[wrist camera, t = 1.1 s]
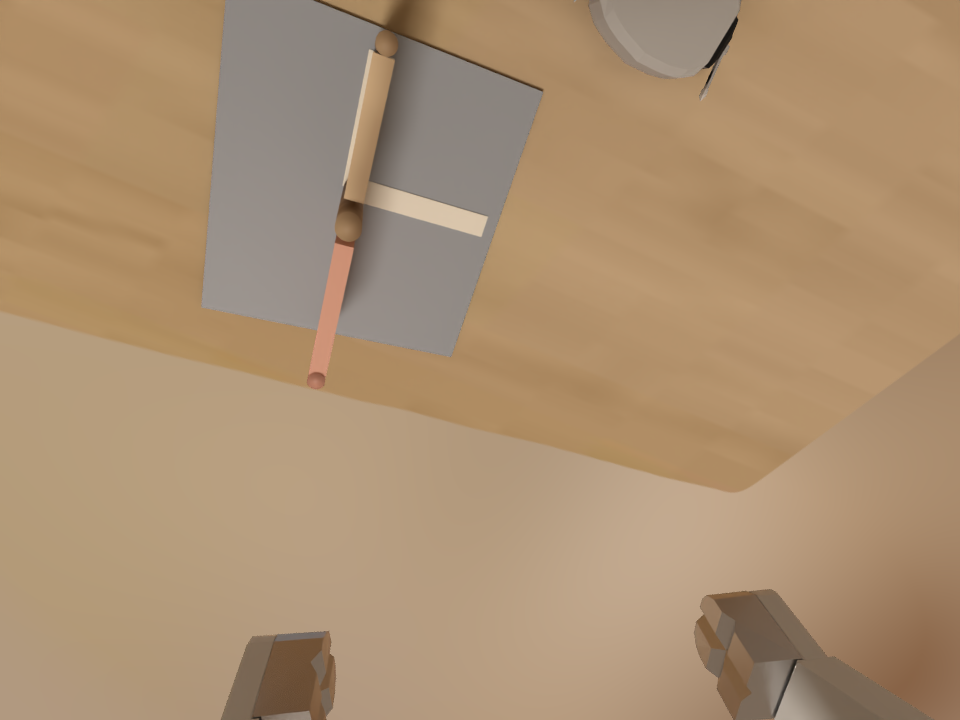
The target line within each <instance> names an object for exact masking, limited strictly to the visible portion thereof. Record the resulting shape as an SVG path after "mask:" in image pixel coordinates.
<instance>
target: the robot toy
mask: <svg viewBox="0 0 960 720" xmlns="http://www.w3.org/2000/svg"><path fill="white" fill-rule="evenodd" d="M575 1H576V0H574V2H575ZM740 4H741V0H589V9H590V12H591V16H592V19H593V22H594V24H595V26H596V28H597V30H598V31H599V33H600V34H601V36H602V37H603V39H604V40H605V42H606V43H607V44H608V45H609V46H610V47H611V48H612V49H613V51H614V52H615V53H616V54H617V55H618V56H619V57H620V58H621V59H622V61H623V62H624V63H626V64H628V65H630V66H632V67H634V68H636V69H638V70H640V71H642V72H644V73H646V74H648V75H652V76H655V77H658V78H664V79H672V78H684V77H690V76H694V75H695V74H696V73H698V72H699V71H700V70H701V69H705V68H710V67H711V66H712V65H713V64H714V63H715V64H714V66H713V69H712V71H711V73H710V75H709V77H708V80H707V82H706V84H705V86H704V88H703V89H702V91H701V93H700V95H699V97H700V101H701V100H702V99H703V98H704V97H706V94H707V92H708V88H709V86H710V84H711V81H712V79H713V77H714V75H715V72H716V70H717V68H718V66H719V64H720V61H721V59H722V57H723V55H726V53H727V51H728V49H729V45H728V43H729V42H730V40H731V38H732V35H733V32H734V30H735V27H736V25H737V22H738V19H737V14H738V13H739V11H740Z"/></svg>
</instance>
